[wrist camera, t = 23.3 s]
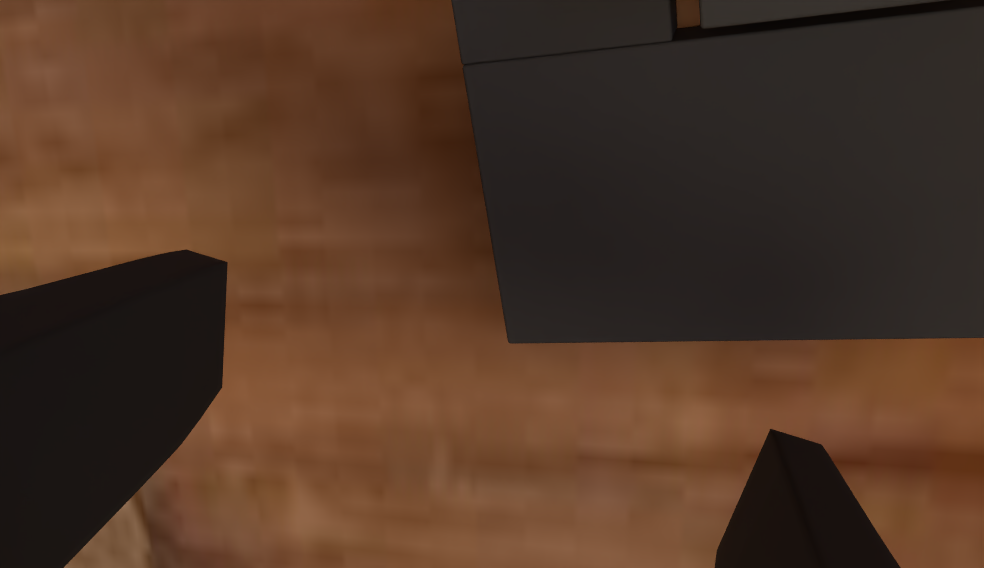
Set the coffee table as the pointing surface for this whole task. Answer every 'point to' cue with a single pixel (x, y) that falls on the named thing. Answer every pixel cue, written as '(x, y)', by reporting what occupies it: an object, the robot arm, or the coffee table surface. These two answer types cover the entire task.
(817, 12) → the black cube
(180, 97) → the coffee table surface
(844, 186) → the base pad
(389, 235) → the coffee table surface
